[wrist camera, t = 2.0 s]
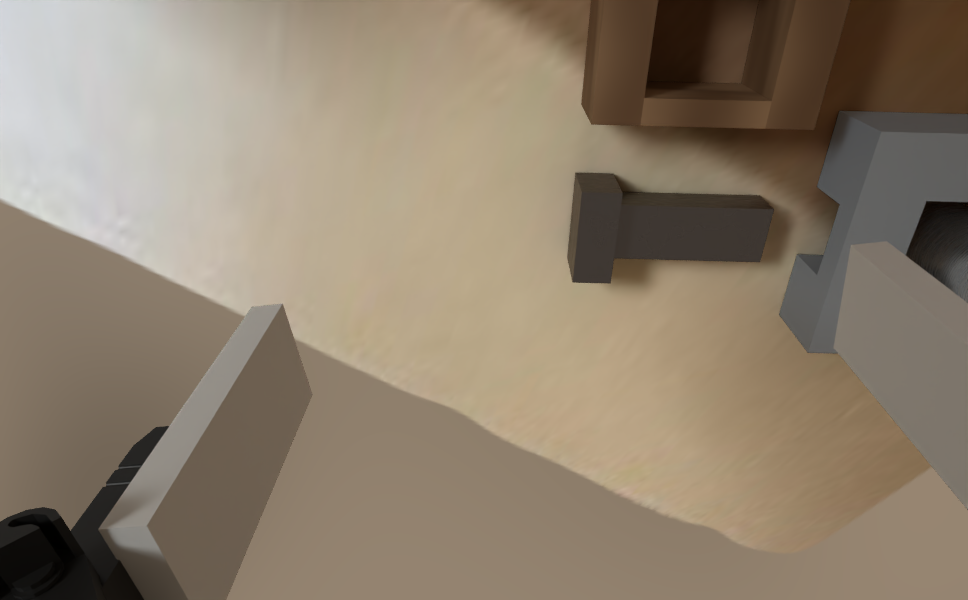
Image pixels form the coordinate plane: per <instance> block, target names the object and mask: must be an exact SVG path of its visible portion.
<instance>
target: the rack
mask: <svg viewBox="0 0 968 600" xmlns="http://www.w3.org/2000/svg"><path fill="white" fill-rule="evenodd" d="M850 1H851V0H759V4H758V8H757V13H756V17H755V22H754V27H753V31H752V36H751V41H750V45H749V50H748V55H747V59H746V64H745V69H744V73H743V78H742V83H741V84H738V83H698V82H658V81H647V75H648V68H649V61H650V54H651V47H652V40H653V33H654V26H655V19H656V12H657V5H658V0H591V8H590V19H589V29H588V40H587V50H586V61H585V71H584V82H583V92H582V103H581V105H582V107H583V109H584V111H585V113H586V115H587V117H588V119H589V121H590V123H591V124H597V125H636V126H675V127H714V128H754V129H793V130H814V129H815V126H816V122H817V118H818V115H819V111H820V108H821V104H822V101H823V97H824V93H825V90H826V86H827V83H828V79H829V76H830V72H831V68H832V65H833V61H834V58H835V54H836V51H837V47H838V44H839V40H840V36H841V33H842V29H843V26H844V22H845V19H846V15H847V11H848V8H849V4H850Z"/></svg>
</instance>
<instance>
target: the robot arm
mask: <svg viewBox="0 0 968 600" xmlns="http://www.w3.org/2000/svg"><path fill="white" fill-rule="evenodd" d="M833 348H834V349H835V350H836V351H837V352H838V354H839V355H840V356H841V357H842V358H843V360H844V361H845V362H846V363H847V365H848V366H849V367H850V368H851V369H852V371H853V372H854V373H855V374H856V375H857V377H858V378H859V379H860V380H861V381H862V383H863V384H864V385H865V386H866V388H867V389H868V390H869V391H870V392H871V394H872V395H873V396H874V397H875V398H876V400H877V401H878V402H879V403H880V404H881V406H882V407H883V408H884V409H885V410H886V412H887V413H888V414H889V415H890V417H891V418H892V419H893V420H894V421H895V423H896V424H897V425H898V426H899V427H900V429H901V430H902V431H903V432H904V433H905V435H906V436H907V437H908V438H909V439H910V441H911V442H912V443H913V444H914V446H915V447H916V448H917V449H918V450H919V452H920V453H921V454H922V455H923V456H924V458H925V459H926V460H927V461H928V462H929V464H930V465H931V466H932V467H933V468H934V470H935V471H936V472H937V473H938V474H939V476H940V477H941V478H942V479H943V481H944V482H945V483H946V484H947V485H948V487H949V488H950V489H951V490H952V491H953V493H954V494H955V495H956V496H957V498H958V499H959V500H960V501H961V502H962V504H963V505H964V506H965V507H966V508H967V510H968V303H967V302H966V301H964V300H963V299H962V298H960V297H959V296H958V295H956V294H955V293H954V292H953V291H951V290H950V289H949V288H947V287H946V286H945V285H943V284H942V283H941V282H939V281H938V280H937V279H936V278H934V277H933V276H932V275H930V274H929V273H928V272H926V271H925V270H924V269H922V268H921V267H920V266H919V265H917V264H916V263H915V262H913V261H912V260H911V259H909V258H908V257H907V256H905V255H904V254H903V253H902V252H900V251H899V250H898V249H896V248H895V247H894V246H892V245H891V244H890V243H888V242H887V241H884V242H874V243H865V244H855V245H851V247H850V253H849V259H848V265H847V271H846V277H845V282H844V288H843V294H842V300H841V306H840V312H839V318H838V324H837V329H836V335H835V341H834V347H833ZM311 397H312V392H311V389H310V386H309V382H308V379H307V377H306V373H305V371H304V367H303V364H302V361H301V359H300V355H299V352H298V350H297V346H296V343H295V340H294V337H293V334H292V331H291V328H290V325H289V322H288V319H287V316H286V313H285V310H284V307H283V304H275V305H265V306H255V307H251V309H250V310H249V312H248V313H247V315H246V316H245V318H244V319H243V321H242V322H241V323H240V325H239V326H238V328H237V329H236V331H235V332H234V334H233V335H232V336H231V338H230V339H229V341H228V342H227V344H226V345H225V347H224V348H223V349H222V351H221V352H220V354H219V355H218V357H217V358H216V360H215V361H214V362H213V364H212V366H211V367H210V368H209V370H208V371H207V373H206V374H205V375H204V377H203V378H202V380H201V381H200V383H199V384H198V386H197V387H196V388H195V390H194V391H193V393H192V394H191V396H190V397H189V399H188V400H187V402H186V403H185V404H184V406H183V407H182V409H181V410H180V412H179V413H178V415H177V416H176V418H175V419H174V420H173V422H172V423H171V425H170V426H165V427H156V428H154V429H153V430H152V431H151V432H150V433H148V434H147V435H146V436H145V437H143V439H141V440H140V441H139V442H137V443H136V444H135V445H134V446H133V447H132V448H131V450H130V451H129V452H128V454H127V455H126V456H125V458H124V459H123V461H122V462H121V463H120V465H119V469H118V470H115V471H114V473H113V474H112V475H111V477H110V478H109V479H108V481H107V482H106V487H103V488H102V489H101V490H100V492H99V493H98V494H97V496H96V497H95V498H94V500H93V501H92V503H91V504H90V505H89V507H88V508H87V509H86V511H85V512H84V513H83V515H82V516H81V518H80V519H79V520H78V522H77V523H76V524H75V526H74V527H73V528H72V530H71V531H70V530H69V528H68V527H67V525H66V524H65V522H64V520H63V519H62V517H61V516H60V515H59V514H58V512H57V511H56V510H54V509H49V508H44V507H42V508H36V509H30V510H25V511H23V512H20V513H18V514H15V515H12V516H10V517H7V518H6V519H4V520H3V521H1V522H0V600H226V599H227V596H228V594H229V592H230V589H231V587H232V585H233V582H234V580H235V577H236V575H237V573H238V570H239V568H240V565H241V563H242V561H243V558H244V556H245V554H246V551H247V548H248V546H249V544H250V542H251V539H252V537H253V534H254V532H255V530H256V528H257V525H258V523H259V520H260V517H261V516H262V513H263V511H264V508H265V506H266V504H267V501H268V499H269V497H270V494H271V492H272V490H273V487H274V485H275V482H276V480H277V478H278V475H279V473H280V470H281V468H282V466H283V463H284V461H285V459H286V456H287V454H288V452H289V449H290V447H291V444H292V442H293V440H294V437H295V435H296V432H297V430H298V428H299V425H300V423H301V421H302V418H303V416H304V413H305V411H306V409H307V406H308V404H309V402H310V399H311Z"/></svg>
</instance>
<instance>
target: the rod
mask: <svg viewBox="0 0 968 600" xmlns="http://www.w3.org/2000/svg"><path fill="white" fill-rule="evenodd" d="M905 256H907V257H908V258H909V259H911V260H912V261H913V262H915V263H916V264H917V265H919V266H920V267H921V268H922V269H924V270H925V271H926V272H928V273H929V274H930V275H932V276H933V277H934V278H936V279H937V280H938V281H939V282H941V283H942V284H943V285H945V286H946V287H947V288H949V289H950V290H951V291H953V292H954V293H955V294H956V295H958V296H959V297H960V298H962V299H963V300H964V301H966V302H967V303H968V207H967V206H965V205H963V204H962V203H960V202H942V201H926V204H925V207H924V209H923V212H922V214H921V217H920V219H919V222H918V225H917V227H916V230H915V232H914V235H913V237H912V240H911V242H910V245H909V248H908V250H907V253H906V255H905Z"/></svg>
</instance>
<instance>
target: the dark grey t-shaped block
mask: <svg viewBox="0 0 968 600" xmlns="http://www.w3.org/2000/svg"><path fill="white" fill-rule="evenodd" d="M773 211H774V209H773V208H772V207H771V206H770V205H769V204H768V203H767V202H766V201H765V200H764V199H763V198H762V197H761V196H758V195H721V194H683V193H645V192H622V191H621V189H620V187H619V185H618V183H617V181H616V178H615V176H614V174H608V173H575V182H574V193H573V203H572V214H571V224H570V235H569V245H568V256H567V258H568V263H569V268H570V272H571V277H572V282H578V283H611V276H612V269H613V261H614V258H626V259H662V260H699V261H736V262H760V260H761V257H762V253H763V249H764V245H765V242H766V238H767V234H768V230H769V226H770V223H771V219H772V215H773Z"/></svg>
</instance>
